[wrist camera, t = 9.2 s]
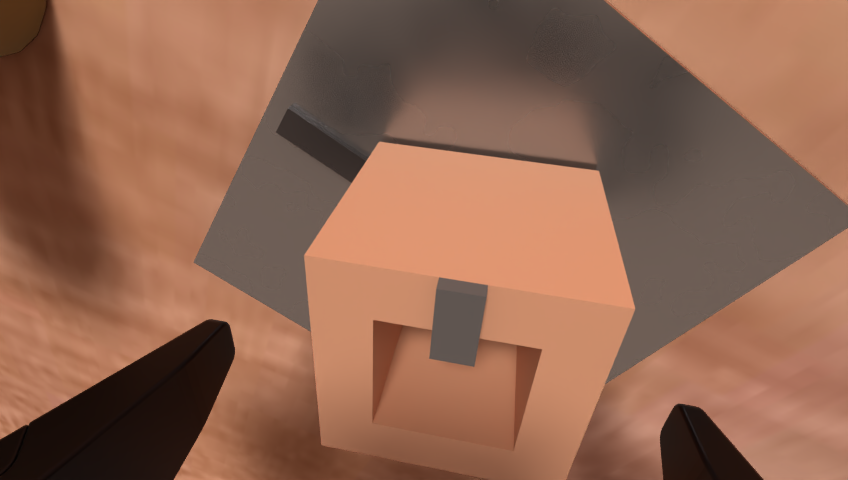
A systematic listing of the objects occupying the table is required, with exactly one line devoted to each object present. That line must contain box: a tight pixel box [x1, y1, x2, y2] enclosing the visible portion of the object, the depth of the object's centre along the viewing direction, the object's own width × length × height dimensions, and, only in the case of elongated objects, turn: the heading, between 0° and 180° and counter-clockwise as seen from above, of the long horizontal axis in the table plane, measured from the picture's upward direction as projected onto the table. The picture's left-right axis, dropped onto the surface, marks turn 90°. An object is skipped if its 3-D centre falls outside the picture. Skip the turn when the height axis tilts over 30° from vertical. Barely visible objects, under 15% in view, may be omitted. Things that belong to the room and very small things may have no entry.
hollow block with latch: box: [304, 142, 635, 480], centre depth 11 cm, size 5×5×5 cm
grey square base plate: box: [194, 0, 848, 384], centre depth 13 cm, size 13×13×4 cm
